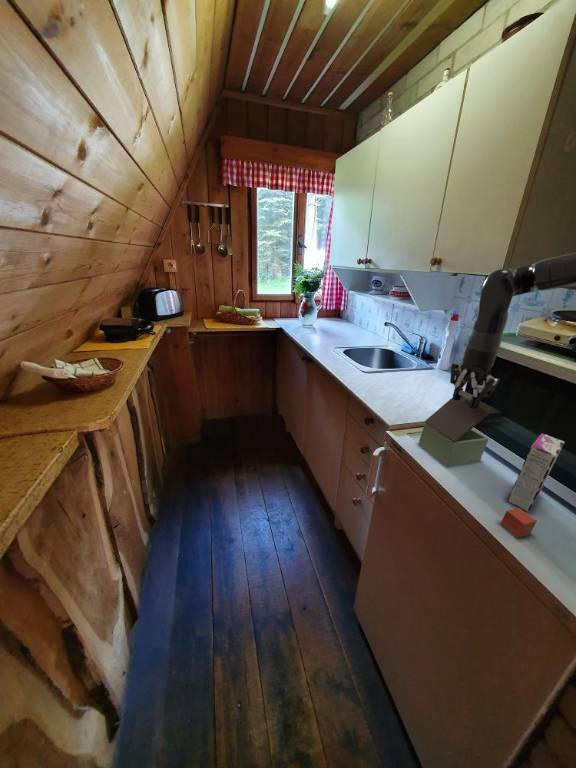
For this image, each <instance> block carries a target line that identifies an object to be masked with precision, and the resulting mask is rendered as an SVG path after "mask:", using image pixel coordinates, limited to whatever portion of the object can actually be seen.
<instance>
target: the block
mask: <svg viewBox="0 0 576 768" xmlns="http://www.w3.org/2000/svg"><path fill="white" fill-rule="evenodd" d="M537 522H538V521H537V519H535V518H534V517H533V516H531V515H530V514H529V513H528V512H527V511H525V510H523V509H522V508H520V507H518V506H517V507H515V508H511V509H507V510H506V511H505V513H504V515H503V516H502V520H501V522H500V525H501V526H502V527H503V528H504V529H506V530H507V531H508V532H509V533H511V535H513V536H514V537H515V538H516V539H520V538H523V537H527V536H529V535H531V533H532V531H533V529H534V527H535V526H536V524H537Z"/></svg>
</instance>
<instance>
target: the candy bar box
mask: <svg viewBox="0 0 576 768" xmlns="http://www.w3.org/2000/svg"><path fill="white" fill-rule="evenodd" d="M564 445H565V441H564V440H561V439H559V438H556V437H554V436H551V435H549V434H547V433H546V434H545V433H540V435H539V436H538V437H537V438H536V440H535V441H534V442H533V444H532V445H531V446H530V448H529V450H528V453H527V455H526V457H525V459H524V462H523V464H522V466H521V469H520V471H519V473H518V476H517V478H516V480H515V483H514V485H513V487H512V489H511V491H510V493H509V496H508V498H507V502H509V503H510V504H511V505H514V506H516V507H517V508H518V507H519V508H520V509H522V510H523V511H524V512H526V513H529V512H530V511H531V510H532V508H533V506H534V504H535V503H536V501H537V499H538V498H539V495H540V494H541V492H542V489H543V487H544V485H545V483H546V481H547V479H548V477H549V475H550V473H551V471H552V469H553V467H554V465H555V463H556V461H557V459H558V457H559V455H560V453H561V452H562V449H563V447H564Z"/></svg>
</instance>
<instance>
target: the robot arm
mask: <svg viewBox="0 0 576 768" xmlns="http://www.w3.org/2000/svg"><path fill="white" fill-rule="evenodd" d="M572 286H576V251H575V252H570V253H566V254H565V253H564V254H561V255H558V256H553V257H550V258H549V257H548V258H545V259H542V260H539V261H537V262H534V263H532V264H527V265H522V266H517V267H513V268H499V269H495V270H494V271H492V272H491V273H489V275H487V277H486V278H485V280H484V282H483V285H482V288H481V290H480V291H481V292H480V297H479V304H478V311H477V313H476V315H475V316H476V317H475V319H474V323H473V326H472V329H471V332H470V334H469V336H468V338H467V343H466V346H465V349H464V352H463V356H462V358H461V359H462V363H452V364H451V368H450V377H449V378H450V379H449V383H450V385H451V384H452V385H453V386H454V390H453V393H452V397H453V400H460V398H461V396H460V395H459V394H458V393H459V391H460V390H463V391H464V387H465V386H466V384H467V383H470V384H471V389H472V392H473V393H472V395H473V396H472V399H471V402H470V405H469V408H471V409H475V408H477V407H478V406H479V404H480V401H481V402H482V398H483V399H484V398H490V397H491V395H492V394H493V392H494V391H495V389H496V388H497V386H498V385H499V383H500V378H498V377H494V376H493V375H491V369H492V368H493V366H494V364H495V360H496V358H497V355H498V352H499V349H500V347H501V343H502V339H503V334H504V332H505V329H506V325H507V322H508V320H509V319H508V318H509V308H510V306H511V302H512V300H513V297H516V296H520V295H525V294H530V293H533V292H541V291H550V290H556V289H561V288H566V287H572Z"/></svg>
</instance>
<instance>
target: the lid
mask: <svg viewBox="0 0 576 768" xmlns="http://www.w3.org/2000/svg"><path fill="white" fill-rule="evenodd" d="M458 394H459V395H460V396H461V398H460V400H453V396H452V397H451V398H450V399H449V400H447V401H446V402H445V403H443V405H442V406H441V407H439V408H438V409H437V410H436V411H434V413H433V414H431V415H430V416H429V417H428V418H427V419H425V420H424V424H425V423H427V424H428V425H430V426H431V427H433V428H434V429H436V430H437V431H439V432H440V433H442V434H443V435H444V436H446V437H447V438H449V439H450V440H452V441H453V442H455V443H456V442H457V441H458V440H459V439H460V438H462V437H463V436H464V435H465V434H466V433H467V432H469V431H470V430H471V429H473V428H475V427H476V426H477V425H478V424H479V423H480V422H481V421H483V420H484V419H485V418H486V417H487V416H488V415H490V414H491V413H492V412H493V411H495V408H494V407H493V406H491V405H489V404H487V403H485V402H483V401H482V400H481V401H480V404H479V406H478V407H477V408H475V409H471V408H469V405H470V402H471V399H472V396H473V394H471V393H469V392H467V391H466V390H464V389H463V390H460V391H459V393H458Z"/></svg>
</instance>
